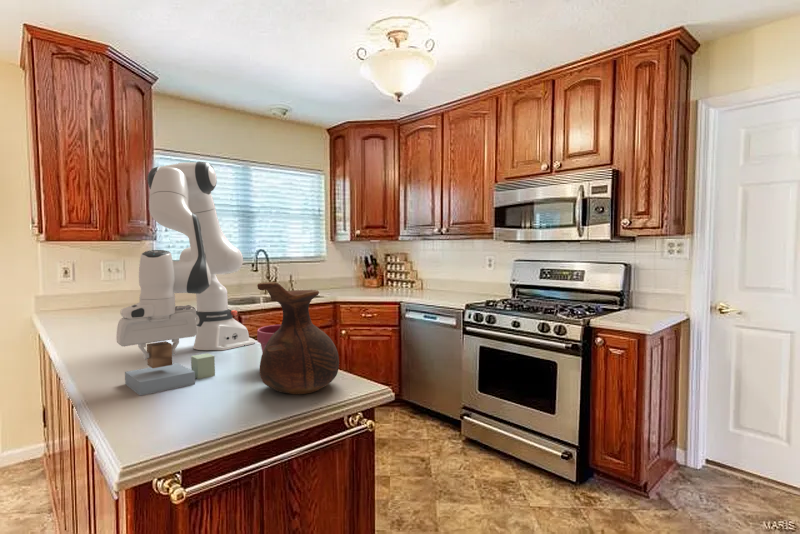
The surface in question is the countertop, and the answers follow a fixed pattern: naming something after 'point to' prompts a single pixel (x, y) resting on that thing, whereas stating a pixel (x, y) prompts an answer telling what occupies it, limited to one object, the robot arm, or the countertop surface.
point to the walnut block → (159, 354)
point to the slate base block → (159, 378)
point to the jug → (297, 346)
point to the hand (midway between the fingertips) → (159, 356)
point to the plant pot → (266, 334)
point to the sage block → (203, 365)
